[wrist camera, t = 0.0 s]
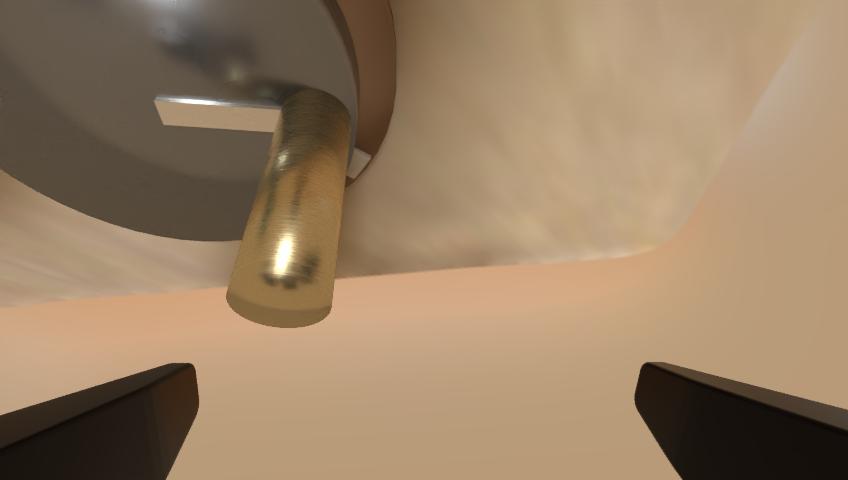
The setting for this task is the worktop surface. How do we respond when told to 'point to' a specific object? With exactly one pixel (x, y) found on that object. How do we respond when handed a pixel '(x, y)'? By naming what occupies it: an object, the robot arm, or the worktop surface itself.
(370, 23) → the stand base
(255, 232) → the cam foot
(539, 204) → the worktop surface
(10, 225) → the worktop surface
